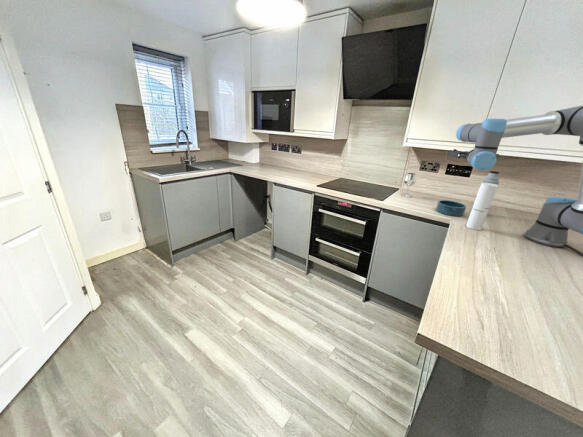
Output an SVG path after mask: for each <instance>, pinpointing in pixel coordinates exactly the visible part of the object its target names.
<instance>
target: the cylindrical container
mask: <svg viewBox="0 0 583 437" xmlns="http://www.w3.org/2000/svg"><path fill="white" fill-rule="evenodd" d="M498 188H499V184H498V185H496V184H491V183H482V182H481V183H480V186H479V189H478V192H477V194H476V196H475V199H474V202H473V205H472V208H471V211H470V214H469V217H468V219H467V221H466V222H467V223H466V225H465V226H466V227H467V228H468V229H470V230H476V231H482V229H483V227H484V224H485V222H486V219H487V217H488V214H489V211H490V208H491V206H492V203H493V201H494V199H495V196H496V193H497V191H498Z"/></svg>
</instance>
